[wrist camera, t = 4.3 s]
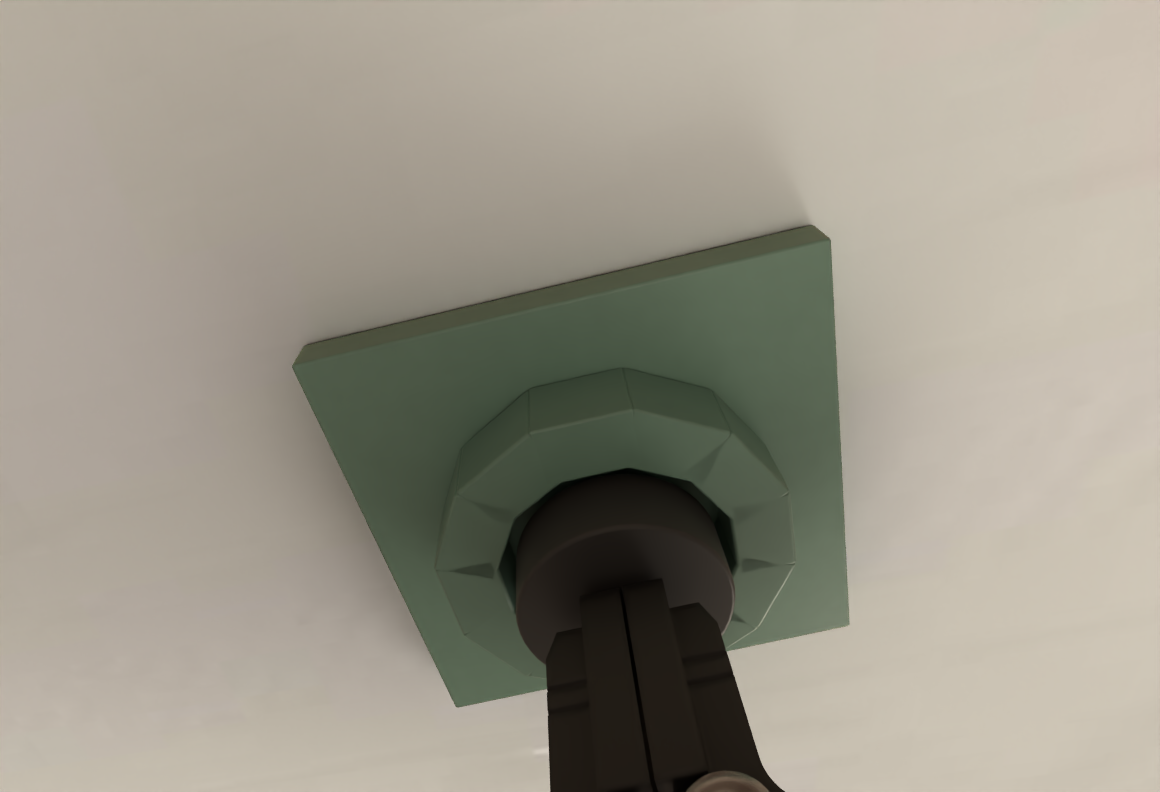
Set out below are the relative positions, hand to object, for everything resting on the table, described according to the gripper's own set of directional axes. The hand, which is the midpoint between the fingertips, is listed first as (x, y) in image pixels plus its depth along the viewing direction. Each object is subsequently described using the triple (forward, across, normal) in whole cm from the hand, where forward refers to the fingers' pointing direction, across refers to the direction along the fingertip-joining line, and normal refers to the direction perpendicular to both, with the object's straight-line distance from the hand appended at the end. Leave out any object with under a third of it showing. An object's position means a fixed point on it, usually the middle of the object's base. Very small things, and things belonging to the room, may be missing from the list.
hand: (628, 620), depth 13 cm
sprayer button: (+2, 0, 0) cm, 2 cm away
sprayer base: (+4, 0, 0) cm, 4 cm away
